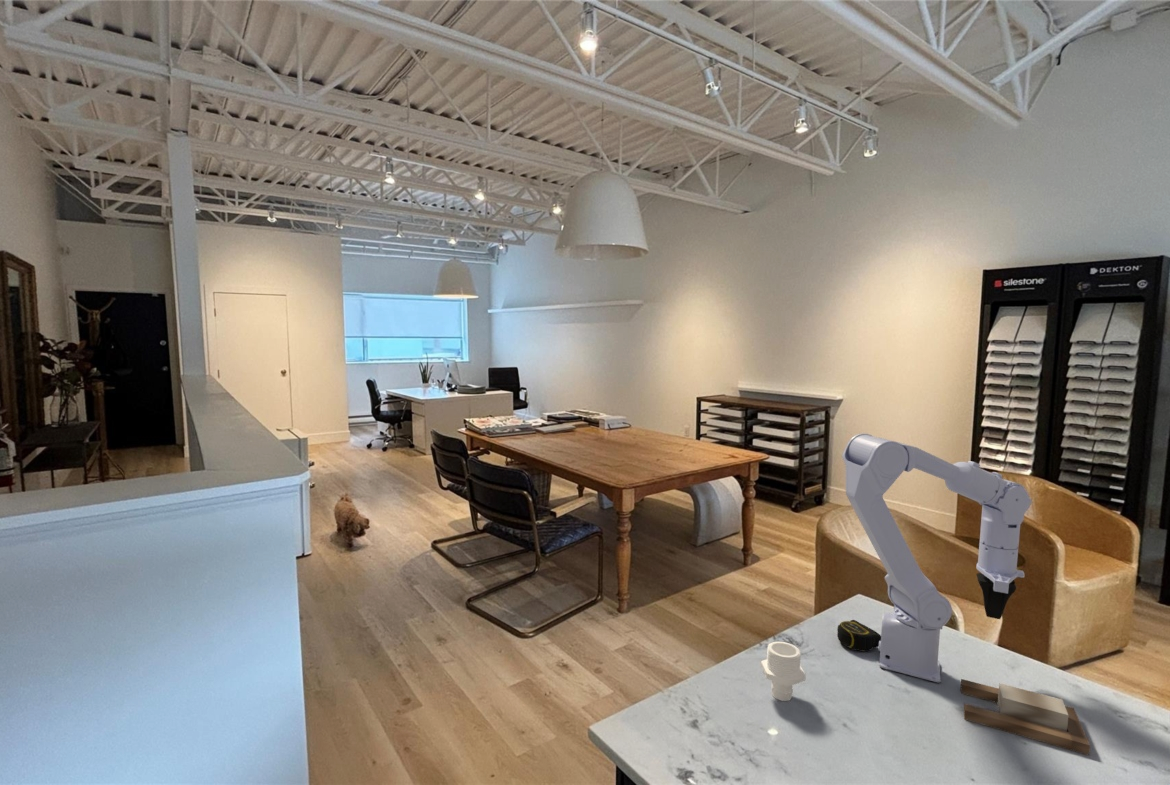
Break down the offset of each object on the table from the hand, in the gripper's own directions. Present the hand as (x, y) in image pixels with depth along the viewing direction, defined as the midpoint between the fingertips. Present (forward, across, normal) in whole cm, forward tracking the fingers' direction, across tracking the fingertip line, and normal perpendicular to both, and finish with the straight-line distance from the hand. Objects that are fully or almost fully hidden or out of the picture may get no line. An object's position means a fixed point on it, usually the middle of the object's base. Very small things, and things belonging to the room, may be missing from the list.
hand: (992, 616), depth 104 cm
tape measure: (+10, -4, +22) cm, 24 cm away
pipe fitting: (+10, -30, +31) cm, 44 cm away
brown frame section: (+9, -16, -2) cm, 19 cm away
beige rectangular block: (+10, -16, -4) cm, 19 cm away
